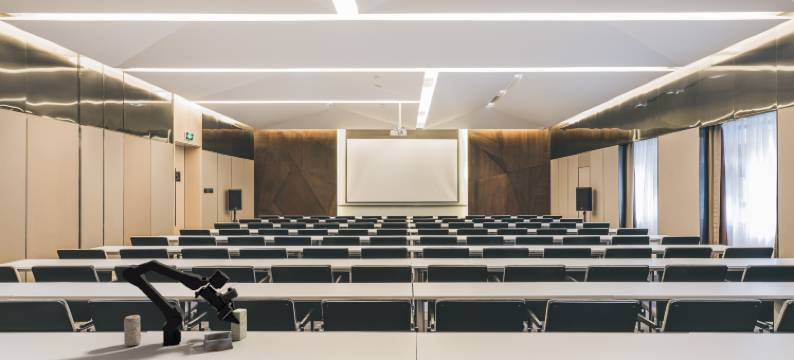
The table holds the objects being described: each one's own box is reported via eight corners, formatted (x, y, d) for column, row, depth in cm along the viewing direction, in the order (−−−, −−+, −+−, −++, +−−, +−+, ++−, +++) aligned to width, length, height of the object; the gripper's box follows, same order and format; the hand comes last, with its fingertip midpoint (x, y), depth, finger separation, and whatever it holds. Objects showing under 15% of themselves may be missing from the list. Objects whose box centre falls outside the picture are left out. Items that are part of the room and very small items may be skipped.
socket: (204, 352, 207) (204, 342, 207) (203, 343, 217) (203, 334, 217) (232, 348, 211) (232, 338, 211) (230, 340, 221) (230, 331, 221)
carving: (139, 341, 221) (139, 313, 221) (142, 346, 214) (142, 317, 214) (123, 343, 217) (123, 315, 217) (125, 349, 211) (124, 319, 211)
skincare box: (240, 340, 222) (239, 312, 221) (230, 340, 222) (230, 311, 222) (247, 336, 228) (247, 308, 228) (237, 335, 229) (237, 308, 229)
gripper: (225, 287, 215) (253, 311, 218) (227, 278, 233) (253, 301, 236) (205, 307, 212) (234, 332, 216) (208, 297, 230) (235, 320, 234)
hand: (239, 320), depth 225 cm, fingers open, 9 cm apart
